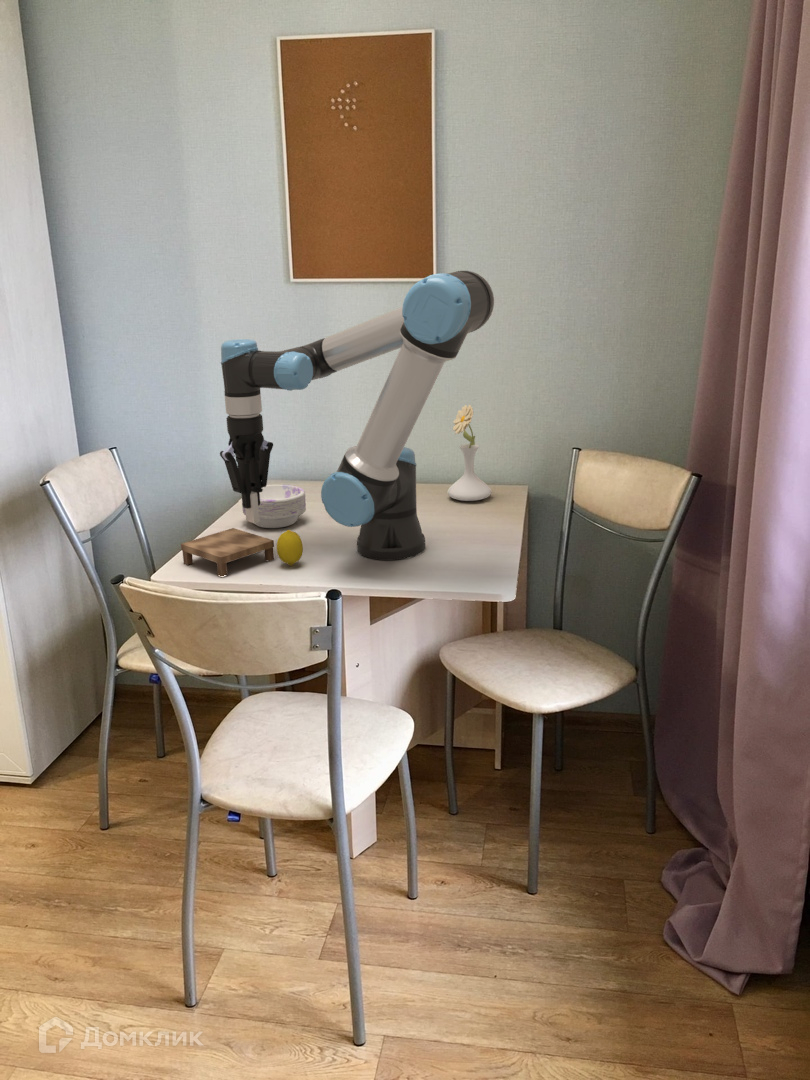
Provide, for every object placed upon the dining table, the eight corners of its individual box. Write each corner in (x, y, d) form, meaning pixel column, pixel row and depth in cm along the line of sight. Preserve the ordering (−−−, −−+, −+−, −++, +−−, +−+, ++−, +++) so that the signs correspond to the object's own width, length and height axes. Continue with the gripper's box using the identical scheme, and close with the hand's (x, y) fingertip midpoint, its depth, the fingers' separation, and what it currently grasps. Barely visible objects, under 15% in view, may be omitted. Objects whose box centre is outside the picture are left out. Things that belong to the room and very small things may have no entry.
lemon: (309, 564, 209) (307, 529, 206) (290, 572, 205) (287, 535, 202) (292, 559, 212) (289, 524, 210) (272, 566, 208) (269, 530, 206)
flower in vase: (447, 492, 259) (446, 398, 251) (490, 492, 258) (490, 397, 250) (447, 506, 246) (446, 408, 238) (492, 506, 246) (493, 407, 238)
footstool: (273, 540, 211) (221, 557, 201) (275, 559, 212) (222, 578, 202) (233, 527, 220) (180, 543, 210) (234, 546, 221) (183, 563, 212)
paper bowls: (318, 517, 241) (316, 486, 239) (286, 535, 228) (283, 502, 226) (265, 511, 247) (263, 480, 245) (231, 528, 234) (228, 496, 232)
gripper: (256, 407, 214) (264, 511, 221) (208, 417, 205) (218, 525, 212) (279, 411, 209) (286, 517, 217) (230, 421, 200) (239, 531, 208)
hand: (252, 521), depth 214 cm, fingers closed
